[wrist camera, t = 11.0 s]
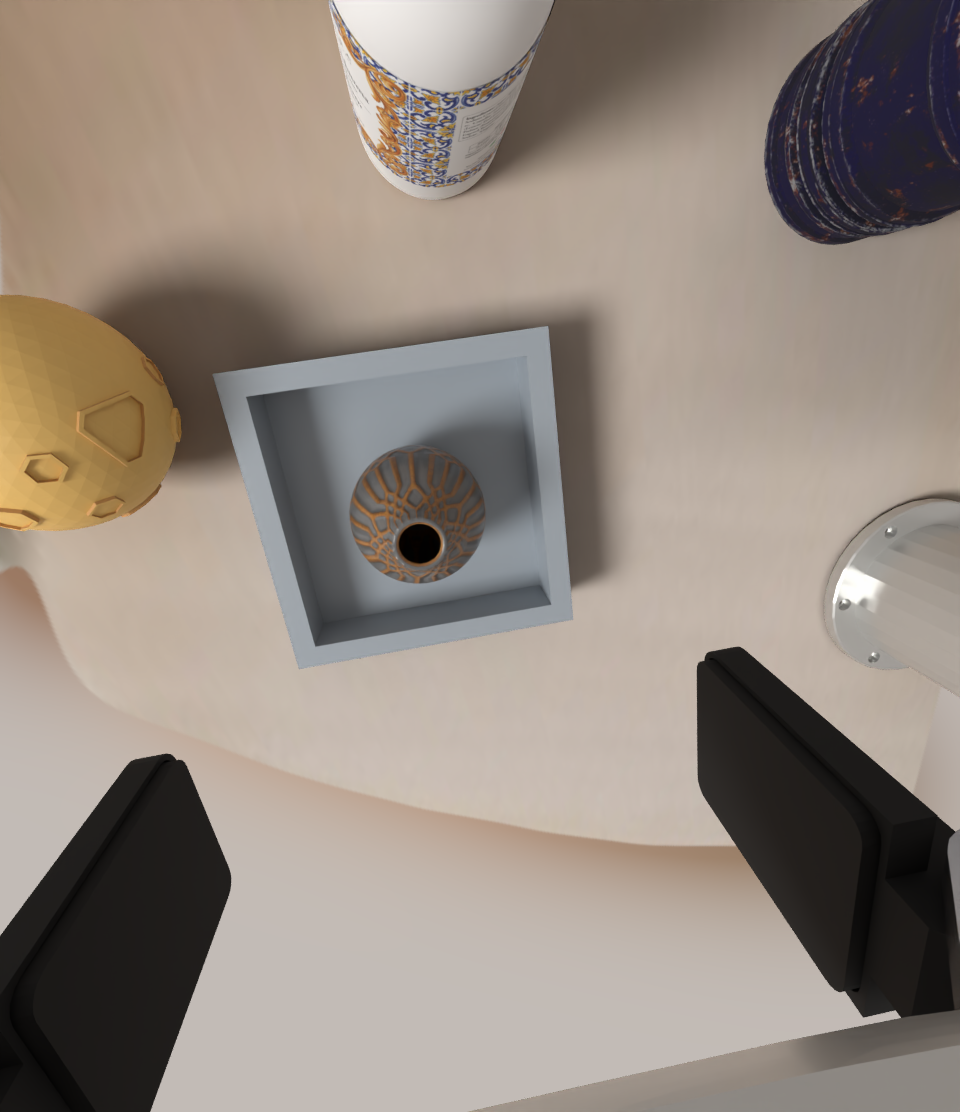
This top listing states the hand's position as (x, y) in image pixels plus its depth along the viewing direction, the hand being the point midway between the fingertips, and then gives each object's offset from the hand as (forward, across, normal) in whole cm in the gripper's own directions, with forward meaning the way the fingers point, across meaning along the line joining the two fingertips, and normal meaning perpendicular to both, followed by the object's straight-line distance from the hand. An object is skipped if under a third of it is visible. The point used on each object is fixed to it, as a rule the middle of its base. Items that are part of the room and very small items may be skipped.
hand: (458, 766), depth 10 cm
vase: (+23, +1, 0) cm, 23 cm away
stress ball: (+23, +16, -7) cm, 29 cm away
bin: (+23, +1, 0) cm, 23 cm away
